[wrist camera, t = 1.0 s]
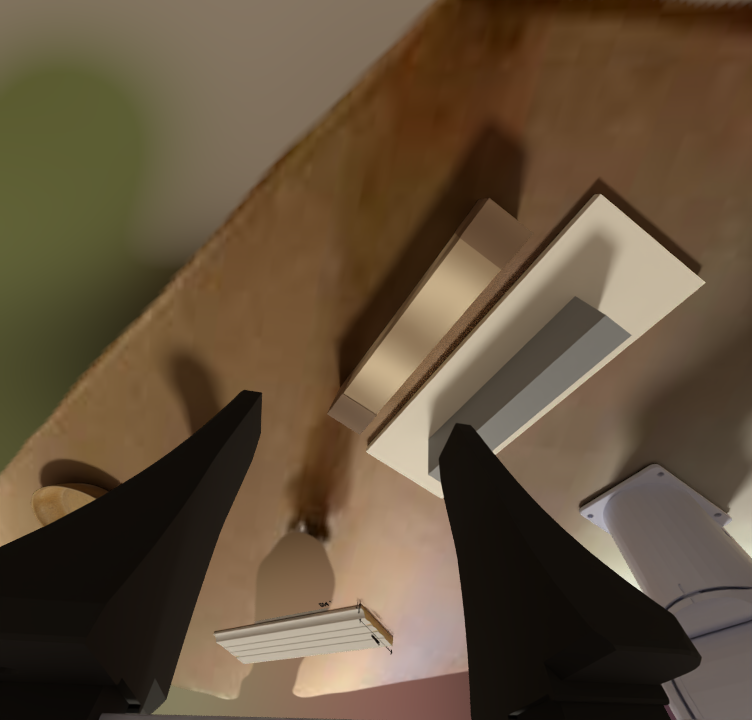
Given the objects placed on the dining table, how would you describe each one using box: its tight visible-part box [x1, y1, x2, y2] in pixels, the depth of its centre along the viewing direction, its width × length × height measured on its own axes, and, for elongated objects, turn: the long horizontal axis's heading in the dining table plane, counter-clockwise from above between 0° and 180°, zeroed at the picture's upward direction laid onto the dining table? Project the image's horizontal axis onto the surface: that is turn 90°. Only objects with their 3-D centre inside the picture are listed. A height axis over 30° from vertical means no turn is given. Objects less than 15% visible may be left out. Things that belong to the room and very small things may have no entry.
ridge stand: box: [366, 194, 705, 499], centre depth 24 cm, size 9×26×5 cm, turn 146°
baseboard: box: [214, 600, 393, 664], centre depth 49 cm, size 30×3×10 cm
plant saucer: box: [31, 483, 109, 527], centre depth 42 cm, size 15×15×3 cm
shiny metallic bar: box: [327, 198, 533, 434], centre depth 23 cm, size 18×3×4 cm, turn 146°
